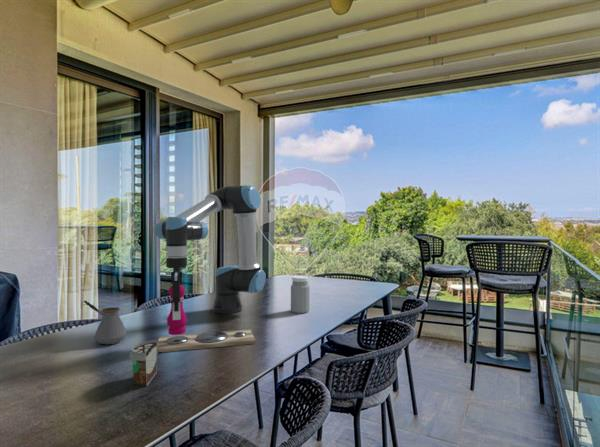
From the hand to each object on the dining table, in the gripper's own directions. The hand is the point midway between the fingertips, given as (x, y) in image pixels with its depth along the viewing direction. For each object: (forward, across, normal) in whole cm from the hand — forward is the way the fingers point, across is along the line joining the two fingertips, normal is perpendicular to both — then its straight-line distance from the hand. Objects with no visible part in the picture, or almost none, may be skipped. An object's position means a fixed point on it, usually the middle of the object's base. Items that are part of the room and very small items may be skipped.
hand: (176, 317), depth 142 cm
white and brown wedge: (+11, +29, -9) cm, 32 cm away
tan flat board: (+11, 0, +11) cm, 15 cm away
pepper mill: (+6, 0, 0) cm, 6 cm away
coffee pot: (+11, -14, -29) cm, 34 cm away
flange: (+9, 0, 0) cm, 9 cm away
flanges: (+9, 0, +17) cm, 19 cm away
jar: (+11, -35, +59) cm, 69 cm away
